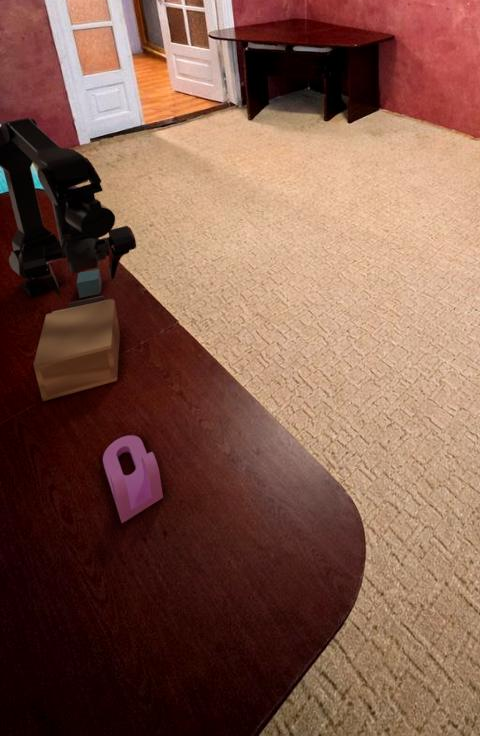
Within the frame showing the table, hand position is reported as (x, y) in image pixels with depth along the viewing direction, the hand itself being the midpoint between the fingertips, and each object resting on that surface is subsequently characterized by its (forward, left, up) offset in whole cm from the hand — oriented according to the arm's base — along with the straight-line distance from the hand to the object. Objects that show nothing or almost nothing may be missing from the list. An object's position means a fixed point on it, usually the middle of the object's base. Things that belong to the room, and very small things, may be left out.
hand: (86, 285), depth 97 cm
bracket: (+34, -12, -13) cm, 38 cm away
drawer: (+2, -3, -12) cm, 12 cm away
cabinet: (+6, -5, -13) cm, 15 cm away
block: (-15, +6, -13) cm, 21 cm away
